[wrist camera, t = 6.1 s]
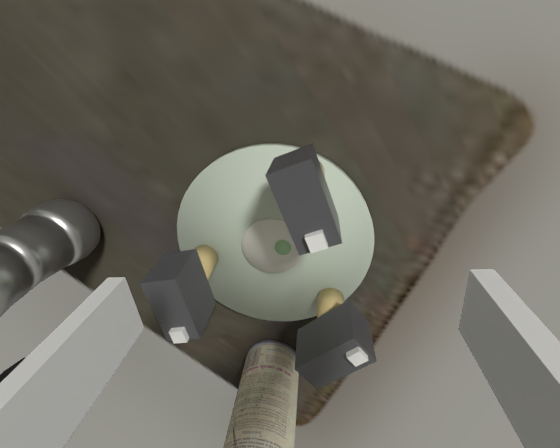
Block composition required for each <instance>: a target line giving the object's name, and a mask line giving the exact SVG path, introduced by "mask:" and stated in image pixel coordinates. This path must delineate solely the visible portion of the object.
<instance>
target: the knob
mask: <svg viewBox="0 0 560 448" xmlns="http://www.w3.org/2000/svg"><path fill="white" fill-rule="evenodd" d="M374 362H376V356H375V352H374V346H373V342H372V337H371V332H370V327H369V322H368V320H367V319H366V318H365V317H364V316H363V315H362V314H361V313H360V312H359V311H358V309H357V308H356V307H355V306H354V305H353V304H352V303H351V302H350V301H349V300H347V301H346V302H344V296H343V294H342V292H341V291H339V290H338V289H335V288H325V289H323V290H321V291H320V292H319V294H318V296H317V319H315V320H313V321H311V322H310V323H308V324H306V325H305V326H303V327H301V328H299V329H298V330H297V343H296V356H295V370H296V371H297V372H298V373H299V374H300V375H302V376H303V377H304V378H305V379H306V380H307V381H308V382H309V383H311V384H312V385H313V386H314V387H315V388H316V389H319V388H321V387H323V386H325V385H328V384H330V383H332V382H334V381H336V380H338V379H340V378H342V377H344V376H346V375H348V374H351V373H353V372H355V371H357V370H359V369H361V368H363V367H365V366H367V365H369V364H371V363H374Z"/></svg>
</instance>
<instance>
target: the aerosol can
mask: <svg viewBox="0 0 560 448" xmlns="http://www.w3.org/2000/svg"><path fill="white" fill-rule="evenodd" d="M295 356H296V352H295V350H294V349H293V348H292V347H290V346H289V345H287V344H285V343H283V342H280V341H275V340H264V341H260V342H258V343H255V344H254V345H253V346H251V347H250V349H249V351H248V353H247V357H246V360H245V364H244V368H243V372H242V376H241V380H240V384H239V388H238V392H237V396H236V400H235V404H234V408H233V412H232V416H231V420H230V424H229V428H228V432H227V436H226V440H225V444H224V448H294V440H295V425H296V409H297V392H298V376H299V373H298V372H297V371H296V370H295Z"/></svg>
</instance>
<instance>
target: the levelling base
mask: <svg viewBox="0 0 560 448" xmlns="http://www.w3.org/2000/svg"><path fill="white" fill-rule="evenodd" d="M299 148H301V147H298V146H295V145H289V144H282V143H261V144H254V145H249V146H245V147H242V148H238V149H236V150H233V151H231V152H229V153H226V154H225V155H223V156H221V157H220V158H218V159H217V160H215V161H214V162H213V163H211V164H210V165H209V166H208V167H207V168H206V169H204V170H203V171H202V172H201V173H200V174H199V175H198V176H197V177H196V178H195V180H194V181H193V182H192V183H191V185H190V186H189V188H188V190H187V191H186V193H185V195H184V198H183V200H182V202H181V205H180V209H179V213H178V220H177V237H178V243H179V248H180V251H185V250H192V249H194V248H195V247H197V246H199V245H207V246H210V247H212V248H213V249H214V250H215V251H216V252H217V254H218V262H217V264H216V266H215V268H214V270H213V272H212V274H211V276H210V277H209V279H208V282H209V285H210V288H211V290H212V293H213V296H214V299H215V300H217V301H218V302H220V303H221V304H223V305H225V306H226V307H228V308H230V309H232V310H234V311H236V312H238V313H241V314H244V315H246V316H249V317H253V318H257V319H262V320H268V321H296V320H303V319H307V318H311V317H314V316H317V296H318V294H319V292H320V291H321V290H323V289H325V288H335V289H338V290H339V291H341V292H342V294H343V296H344V300H346V299H347V298H348V297H349V296H350V295H351V294H352V293H353V292H354V291H355V290H356V289H357V287H358V286H359V285H360V283H361V282H362V280H363V279H364V277H365V275H366V273H367V271H368V269H369V266H370V263H371V260H372V256H373V250H374V229H373V224H372V219H371V216H370V213H369V210H368V207H367V205H366V202H365V200H364V198H363V196H362V194H361V192H360V190H359V189H358V188H357V186H356V185H355V183H354V182H353V181H352V179H351V178H350V177H349V176H348V175H347V174H346V173H345V172H344V171H343V170H342V169H341V168H339V167H338V166H337V165H336V164H334V163H333V162H332V161H330V160H328V159H327V158H325V157H323V156H322V155H320V154H318V153H316V154H317V157H318V160H319V161H320V162H321V163H322V165H323V167H324V171H325V180H326V183H327V185H328V188H329V191H330V194H331V197H332V200H333V202H334V205H335V208H336V211H337V214H338V218H339V225H340V232H341V238H342V244H338V245H335V246H331V247H328V249H325V250H321V251H318V252H314V253H307V254H303V255H300V256H299V254H298V251H297V249H296V247H295V244H294V242H293V240H292V237H291V235H290V233H289V230H288V228H287V225H286V223H285V221H284V218H283V216H282V214H281V211H280V209H279V207H278V204H277V202H276V200H275V197H274V195H273V193H272V190H271V188H270V186H269V183H268V181H267V179H266V176H265V175H266V173H267V171H268V169H269V167H270V165H271V163H272V161H273V159H274V158H275V157H278V156H280V155H283V154H285V153H288V152H291V151H293V150H296V149H299Z"/></svg>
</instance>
